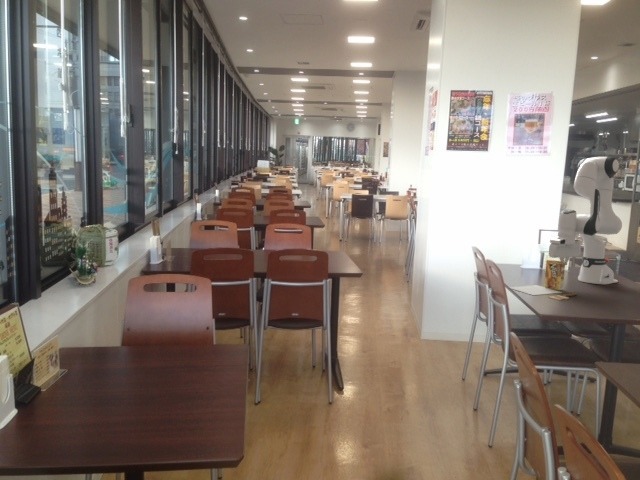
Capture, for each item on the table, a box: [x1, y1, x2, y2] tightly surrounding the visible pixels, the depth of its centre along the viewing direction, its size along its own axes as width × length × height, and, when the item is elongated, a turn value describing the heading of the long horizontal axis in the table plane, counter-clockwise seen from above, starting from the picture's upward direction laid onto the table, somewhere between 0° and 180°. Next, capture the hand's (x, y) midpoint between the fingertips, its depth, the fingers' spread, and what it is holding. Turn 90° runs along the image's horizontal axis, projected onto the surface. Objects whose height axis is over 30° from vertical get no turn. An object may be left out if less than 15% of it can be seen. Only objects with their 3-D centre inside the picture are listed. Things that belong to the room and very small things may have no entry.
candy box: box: [544, 259, 566, 291], centre depth 317 cm, size 9×4×15 cm, turn 43°
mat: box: [508, 284, 563, 296], centre depth 312 cm, size 20×18×1 cm
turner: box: [548, 291, 578, 301], centre depth 299 cm, size 18×6×1 cm, turn 124°
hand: (563, 265), depth 318 cm, fingers closed
